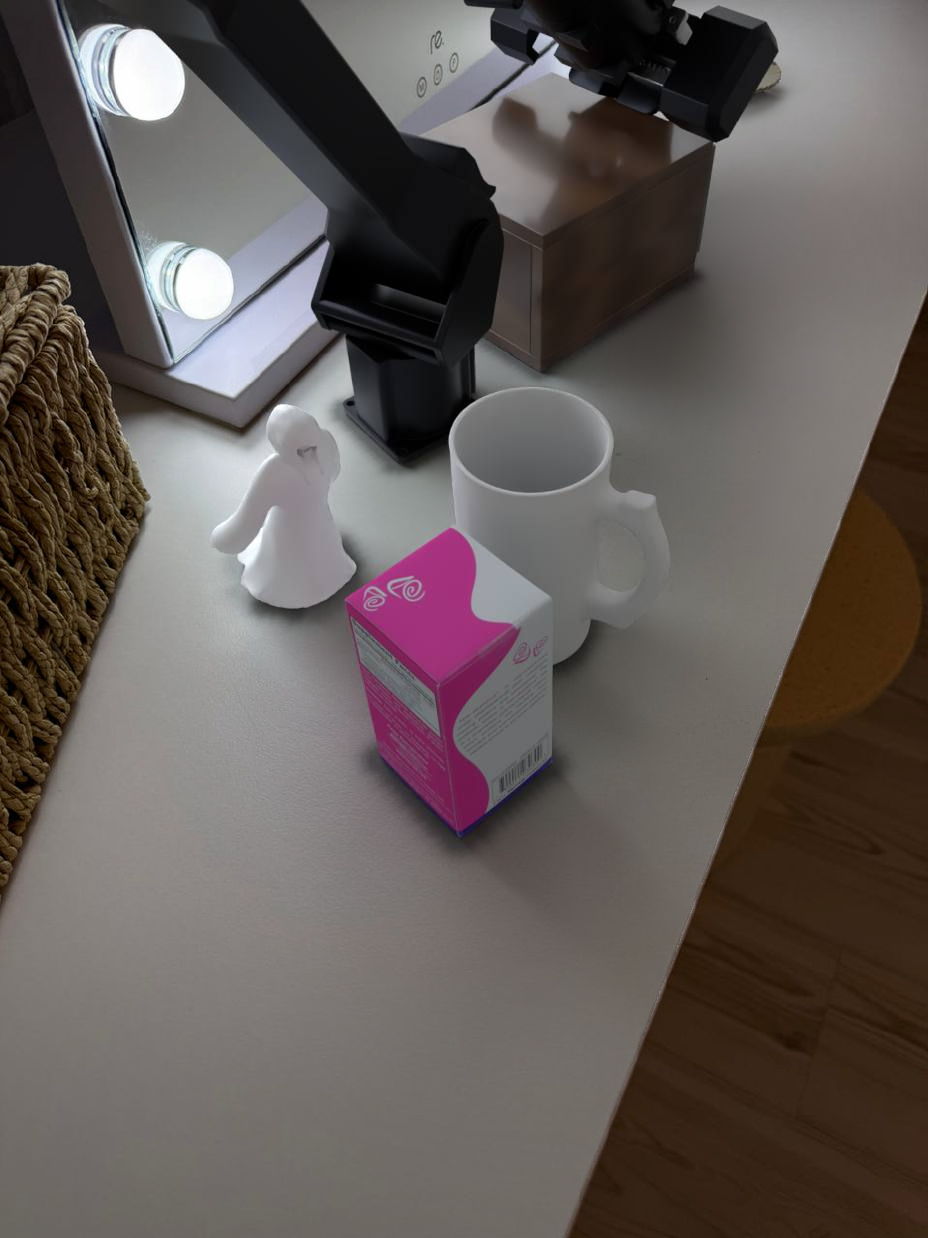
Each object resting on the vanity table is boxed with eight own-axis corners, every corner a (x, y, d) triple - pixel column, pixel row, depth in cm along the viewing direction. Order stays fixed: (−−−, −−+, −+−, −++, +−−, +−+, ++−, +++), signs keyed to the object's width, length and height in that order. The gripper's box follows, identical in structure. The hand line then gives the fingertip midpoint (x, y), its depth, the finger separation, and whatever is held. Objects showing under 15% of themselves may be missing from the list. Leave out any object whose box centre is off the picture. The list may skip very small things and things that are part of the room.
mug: (435, 641, 51) (417, 461, 42) (500, 553, 55) (498, 368, 45) (620, 724, 48) (647, 548, 38) (677, 624, 51) (714, 440, 42)
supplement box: (468, 685, 49) (457, 516, 40) (555, 763, 46) (564, 601, 38) (373, 756, 47) (339, 594, 38) (458, 843, 44) (444, 690, 35)
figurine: (294, 649, 51) (244, 471, 42) (191, 573, 55) (124, 393, 45) (398, 560, 55) (374, 377, 45) (295, 494, 58) (253, 312, 49)
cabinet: (548, 201, 77) (551, 71, 69) (693, 274, 70) (714, 139, 63) (396, 283, 71) (383, 151, 63) (540, 372, 64) (543, 235, 57)
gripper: (794, -149, 50) (866, 24, 63) (521, -215, 59) (634, -52, 72) (668, 76, 53) (762, 196, 66) (427, -19, 62) (551, 103, 75)
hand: (675, 103), depth 69 cm, fingers closed
